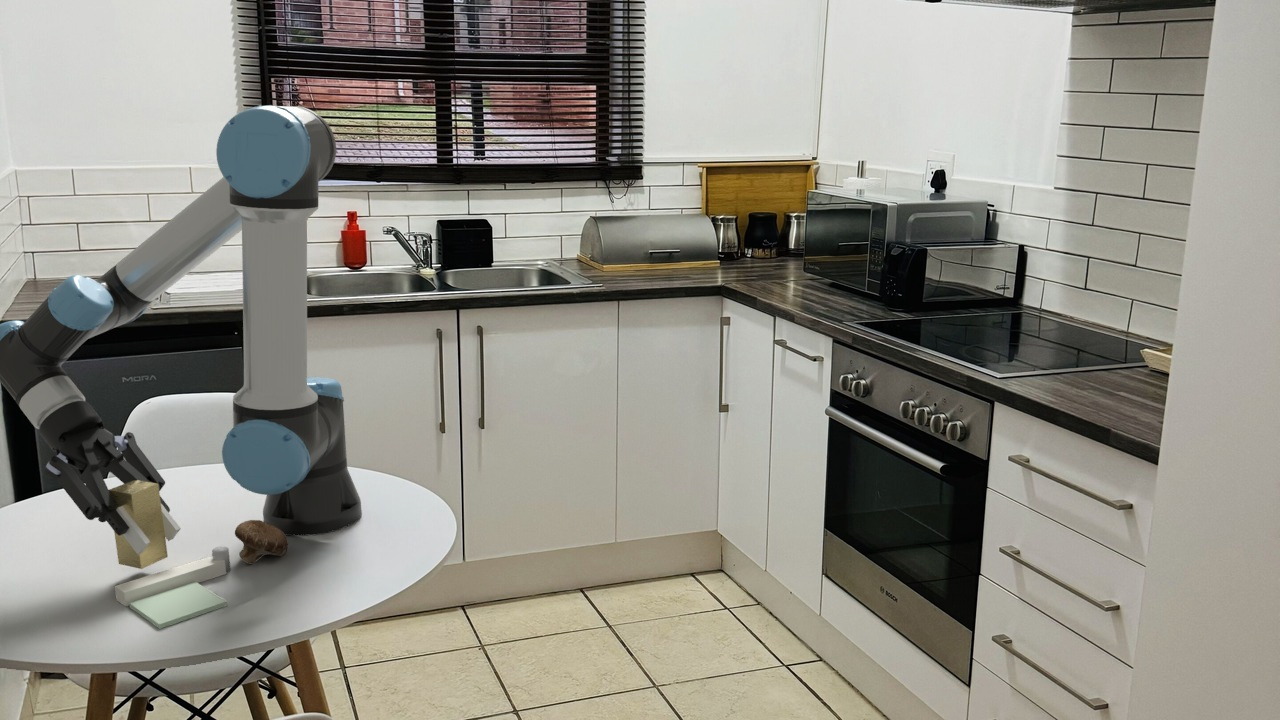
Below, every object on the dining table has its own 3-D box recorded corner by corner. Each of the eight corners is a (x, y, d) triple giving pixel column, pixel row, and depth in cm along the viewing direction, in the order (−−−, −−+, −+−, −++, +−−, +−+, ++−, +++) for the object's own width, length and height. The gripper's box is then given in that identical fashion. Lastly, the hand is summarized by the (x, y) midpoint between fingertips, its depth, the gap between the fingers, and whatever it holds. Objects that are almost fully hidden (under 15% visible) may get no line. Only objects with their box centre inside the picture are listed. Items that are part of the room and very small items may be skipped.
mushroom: (224, 553, 154) (244, 512, 156) (223, 554, 162) (242, 515, 164) (278, 574, 156) (297, 533, 158) (274, 574, 164) (292, 535, 166)
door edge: (224, 565, 158) (222, 544, 157) (234, 571, 156) (232, 550, 155) (116, 599, 147) (113, 577, 147) (125, 606, 145) (123, 584, 145)
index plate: (195, 585, 151) (195, 581, 151) (227, 605, 146) (226, 601, 145) (130, 607, 145) (129, 603, 145) (159, 628, 139) (159, 624, 139)
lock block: (145, 552, 158) (135, 479, 155) (167, 556, 156) (158, 483, 153) (118, 563, 154) (108, 489, 151) (141, 569, 152) (131, 494, 149)
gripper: (105, 415, 165) (197, 534, 162) (-6, 448, 150) (94, 580, 146) (125, 384, 162) (220, 505, 158) (14, 415, 146) (116, 549, 143)
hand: (159, 541), depth 152 cm, fingers closed on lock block, 4 cm apart
